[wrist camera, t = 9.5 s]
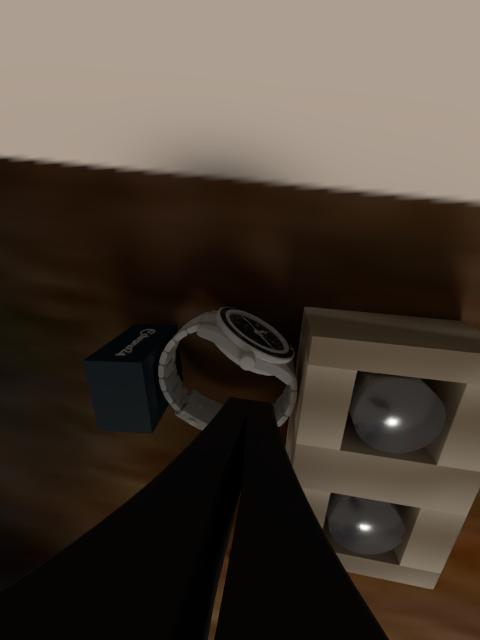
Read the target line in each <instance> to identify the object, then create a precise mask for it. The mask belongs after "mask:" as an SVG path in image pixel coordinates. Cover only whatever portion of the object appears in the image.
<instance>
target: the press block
mask: <svg viewBox="0 0 480 640" xmlns="http://www.w3.org/2000/svg"><path fill="white" fill-rule="evenodd" d="M357 371H365V372H373V373H382V374H390V375H399V376H407V377H416V378H421V379H422V380H423V381H424V382H425V383H426V384H427V385H428V386H429V387H430V388H431V390H432V391H433V392H434V393H435V394H436V395H437V396H438V397H439V398H440V400H441V401H442V403H443V405H444V408H445V413H446V419H445V424H444V427H443V429H442V431H441V432H440V434H439V435H438V436H437V438H436V439H434V440H433V441H432V442H431V443H430V444H428V445H426V446H425V447H423V448H421V449H418V450H415V451H412V452H407V453H388V452H383V451H380V450H377V449H375V448H373V447H371V446H369V445H368V444H366V443H365V442H364V441H363V440H362V439H361V438H360V437H359V435H358V433H357V432H356V429H355V426H354V424H353V421H352V418H351V415H350V413H349V406H350V401H351V397H352V392H353V388H354V383H355V379H356V374H357ZM295 374H296V379H297V400H296V403H295V404H294V405H295V407H294V409H293V411H292V413H291V415H290V416H289V423H288V430H287V437H286V445H285V449H286V451H287V454H288V456H289V459H290V462H291V464H292V467H293V469H294V471H295V474H296V476H297V478H298V480H299V483H300V485H301V487H302V489H303V491H304V494H305V496H306V498H307V500H308V502H309V504H310V506H311V508H312V510H313V512H314V514H315V516H316V518H317V520H318V522H319V524H320V525H321V527H322V529H323V531H324V533H325V535H326V536H327V538H328V540H329V542H330V544H331V546H332V547H333V549H334V551H335V553H336V554H337V556H338V558H339V560H340V561H341V563H342V565H343V566H344V568H345V570H346V572H351V573H356V574H360V575H365V576H370V577H375V578H380V579H385V580H389V581H394V582H399V583H404V584H409V585H414V586H418V587H423V588H428V589H434V587H435V585H436V583H437V580H438V578H439V576H440V574H441V572H442V569H443V567H444V565H445V563H446V561H447V558H448V556H449V554H450V552H451V550H452V547H453V545H454V543H455V541H456V539H457V536H458V534H459V532H460V530H461V528H462V525H463V523H464V521H465V519H466V517H467V514H468V512H469V510H470V508H471V506H472V503H473V501H474V499H475V497H476V495H477V492H478V490H479V488H480V330H479V329H477V328H475V327H473V326H471V325H469V324H467V323H465V322H463V321H457V320H446V319H435V318H424V317H413V316H402V315H391V314H380V313H369V312H358V311H347V310H336V309H325V308H315V307H304V312H303V320H302V327H301V334H300V342H299V349H298V356H297V364H296V371H295ZM330 493H337V494H343V495H348V496H354V497H360V498H366V499H371V500H377V501H383V502H389V503H395V505H396V507H397V509H398V512H399V514H400V517H401V519H402V522H403V524H404V528H405V534H404V537H403V539H402V541H401V542H400V544H399V545H398V546H396V547H395V548H393V549H392V550H390V551H387V552H384V553H380V554H369V555H368V554H359V553H355V552H352V551H349V550H347V549H345V548H343V547H342V546H340V545H339V544H338V543H337V542H336V541H335V540H334V539H333V538H332V536H331V534H330V531H329V525H328V519H327V512H326V511H327V507H328V502H329V497H330Z"/></svg>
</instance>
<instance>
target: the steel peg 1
mask: <svg viewBox="0 0 480 640" xmlns="http://www.w3.org/2000/svg"><path fill="white" fill-rule="evenodd" d="M349 413H350V415H351V418H352V421H353V424H354V426H355V429H356V432H357V433H358V435H359V437H360V438H361V439H362V440H363V441H364V442H365V443H366V444H368V445H369V446H371V447H373V448H375V449H377V450H380V451H383V452H388V453H407V452H412V451H415V450H418V449H421V448H423V447H425V446H426V445H428V444H430V443H431V442H432V441H433V440H434V439H436V438H437V436H438V435H439V434H440V432H441V431H442V429H443V427H444V424H445V419H446V413H445V408H444V405H443V403H442V401H441V400H440V398H439V397H438V396H437V395H436V394H435V393H434V392H433V391H432V390H431V388H430V387H429V386H428V385H427V384H426V383H425V382H424V381H423V380H422V379H421V378H416V377H407V376H399V375H390V374H382V373H373V372H365V371H357V374H356V379H355V383H354V388H353V392H352V397H351V401H350V406H349Z"/></svg>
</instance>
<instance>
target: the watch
mask: <svg viewBox="0 0 480 640" xmlns="http://www.w3.org/2000/svg"><path fill="white" fill-rule="evenodd" d="M196 331H198V332H197V335H198V336H199V337H201V338H204V339H207V340H209V341H212V342H214V343H215V344H216V346H217V347H218V348H219V349H220V350H221V351H222V352H223V353H224V354H225V355H226V356H227V357H228V358H229V359H231V360H232V361H233V362H235V363H236V364H238V365H240V367H241V368H243V370H248V371H252V372H254V373H257V374H263V375H267V376H272V375H274V376H276V377H277V378H279V379H280V380H281V381H283V382H284V383H285V384H287V385H286V387H285V389H284V391H283V394H281V396H280V397H279V398H278V399H277V400H276V404H275V403H273V404H272V405H273V406H274V411H275V417H276V421H277V425H278V427H280V426H281V425H282V424H283V423H284V422H285V421H286V420H287V419H288V417H289V416H290V415H291V413H292V411H293V409H294V407H295V405H294V404H295V403H296V400H297V379H296V374H295V368H294V361H293V357H294V350H293V347H292V346H291V344H290V343H289V341H288V340H287V339H286V338H285V337H284V336H283V335H282V334H281V333H280V332H279V331H278V330H277V329H275V328H274V327H273V326H271V325H270V324H269V323H267V322H266V321H264V320H262V319H261V318H259V317H257V316H255V315H253V314H251V313H249V312H246V311H244V310H241V309H237V308H233V307H223V308H220V309H219V311H214V310H212V311H211V313H210V312H206V313H203V314H201V315H199V316H197V317H195V318H193V319H191V320H190V321H189V322H187V323H186V324H185V325H184V326H183V327H182V328H181V329H180V330H179V331H178V327H177V325H133V326H132V327H130V328H129V329H127V330H126V331H125V332H123V333H122V334H120V335H119V336H117V337H116V338H115V339H113V340H112V341H110V342H109V343H108V344H106V345H105V346H103V347H102V348H100V349H99V350H98V351H96V352H95V353H93V354H92V355H90V356H89V357H88V358H86V359H85V360H83V363H84V367H85V372H86V376H87V380H88V385H89V389H90V394H91V398H92V403H93V407H94V411H95V416H96V420H97V425H98V429H99V430H105V431H121V432H136V433H153V431H154V429H155V428H156V426H157V424H158V422H159V421H160V419H161V417H162V416H163V414H164V412H165V410H166V409H167V407H168V405H169V404H171V403H172V404H171V406H172V407H173V409H174V410H175V415H176V416H178V417H179V418H181V419H182V420H184V421H185V422H187V423H189V424H191V425H192V426H194V427H196V428H198V429H200V430H203V429H204V428H205V427H206V426H207V425H208V423H209V422H210V421H211V420H212V419H213V418H214V416H215V415H216V414H217V413H218V411H219V410H220V409H221V407H222V406H223V404H220V403H218V402H215V401H213V400H211V399H209V398H207V397H205V396H204V395H202V394H200V393H199V392H197V391H196V390H194V389H193V390H191V391H189V390H188V389H187V388H186V387H185V386H182V385H183V383H182V381H183V379H182V368H181V358H180V347H179V341H180V340H181V339H182V338H184V337H185V336H187V335H188V333H189V334H191V333H193V332H196Z"/></svg>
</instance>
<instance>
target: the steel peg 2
mask: <svg viewBox="0 0 480 640" xmlns="http://www.w3.org/2000/svg"><path fill="white" fill-rule="evenodd" d="M326 512H327V519H328V525H329V531H330V534H331V536H332V538H333V539H334V540H335V541H336V542H337V543H338V544H339V545H340V546H342V547H343V548H345V549H347V550H349V551H352V552H355V553H359V554H368V555H369V554H380V553H384V552H387V551H390V550H392V549H393V548H395V547H396V546H398V545H399V544H400V542H401V541H402V539H403V537H404V534H405V528H404V524H403V522H402V519H401V517H400V514H399V512H398V509H397V507H396V505H395V503H389V502H383V501H377V500H371V499H366V498H360V497H354V496H348V495H343V494H337V493H330V497H329V502H328V507H327V511H326Z"/></svg>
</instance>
